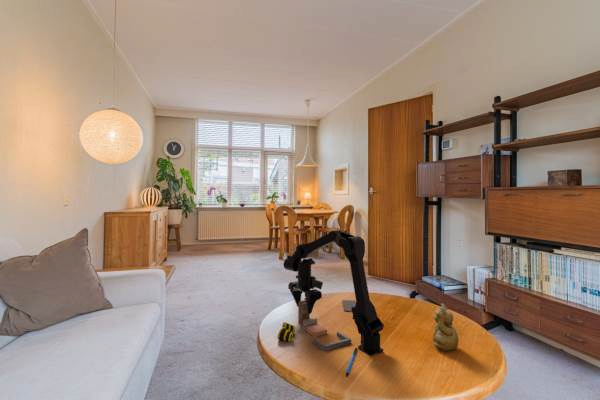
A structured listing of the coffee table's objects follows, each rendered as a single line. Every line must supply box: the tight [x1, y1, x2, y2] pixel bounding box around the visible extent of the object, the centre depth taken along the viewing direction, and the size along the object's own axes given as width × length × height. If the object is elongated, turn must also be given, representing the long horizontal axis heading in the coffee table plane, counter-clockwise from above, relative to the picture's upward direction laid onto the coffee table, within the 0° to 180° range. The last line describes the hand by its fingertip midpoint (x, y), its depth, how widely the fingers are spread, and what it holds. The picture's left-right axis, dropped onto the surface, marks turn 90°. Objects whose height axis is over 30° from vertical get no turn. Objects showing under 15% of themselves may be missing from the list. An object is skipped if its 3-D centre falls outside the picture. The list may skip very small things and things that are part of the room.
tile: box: [305, 323, 328, 338], centre depth 121 cm, size 6×6×2 cm
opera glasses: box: [277, 321, 296, 343], centre depth 116 cm, size 10×5×5 cm, turn 172°
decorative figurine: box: [433, 303, 460, 353], centre depth 109 cm, size 10×8×15 cm
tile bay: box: [312, 331, 352, 352], centre depth 112 cm, size 8×12×2 cm, turn 120°
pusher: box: [297, 300, 318, 331], centre depth 128 cm, size 8×6×9 cm
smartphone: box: [341, 299, 356, 313], centre depth 151 cm, size 7×1×15 cm
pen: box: [345, 346, 358, 378], centre depth 99 cm, size 1×19×1 cm, turn 160°
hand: (304, 310), depth 129 cm, fingers open, 9 cm apart
